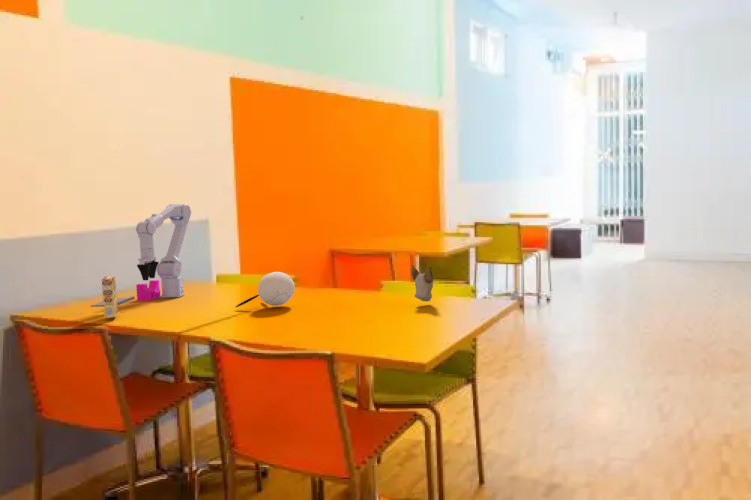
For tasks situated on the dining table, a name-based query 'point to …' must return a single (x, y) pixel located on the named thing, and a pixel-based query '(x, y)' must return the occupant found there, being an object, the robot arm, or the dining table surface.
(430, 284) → the ceramic sculpture
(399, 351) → the dining table surface
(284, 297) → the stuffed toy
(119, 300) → the rubber mat
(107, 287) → the candy box
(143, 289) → the toy block
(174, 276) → the robot arm
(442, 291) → the dining table surface
